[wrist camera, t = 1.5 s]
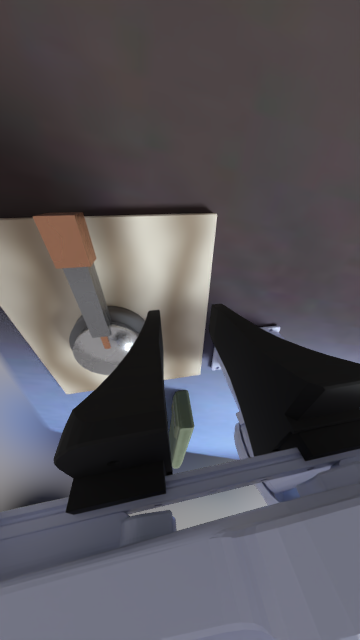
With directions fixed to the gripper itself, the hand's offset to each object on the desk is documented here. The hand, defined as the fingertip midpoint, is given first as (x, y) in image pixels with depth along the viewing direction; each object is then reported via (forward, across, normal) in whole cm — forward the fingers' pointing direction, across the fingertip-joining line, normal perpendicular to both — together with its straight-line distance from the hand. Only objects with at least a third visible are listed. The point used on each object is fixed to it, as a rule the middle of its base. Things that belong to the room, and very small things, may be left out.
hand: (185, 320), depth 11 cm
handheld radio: (+9, 0, +35) cm, 36 cm away
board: (+8, +6, +6) cm, 12 cm away
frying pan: (+6, +7, +2) cm, 9 cm away
